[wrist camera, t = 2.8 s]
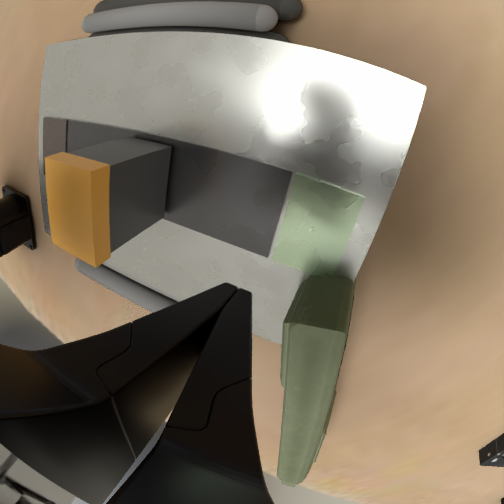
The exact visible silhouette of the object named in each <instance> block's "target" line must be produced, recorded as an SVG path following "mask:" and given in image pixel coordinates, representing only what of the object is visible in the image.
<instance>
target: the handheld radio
mask: <svg viewBox="0 0 504 504" xmlns="http://www.w3.org/2000/svg"><path fill="white" fill-rule="evenodd" d="M355 281H356V278H355V280H354V282H352V280H350V279H349V278H348V277H345V276H337V275H334V276H333V278H332V277H324V276H313V275H311V276H309V277H308V278H307V281H305V282H302V283H301V285H300V286H299V287H298V290H297V292H296V294H295V296H294V299H293V301H292V303H291V305H290V308H289V310H288V312H287V314H286V317H285V319H284V321H283V327H282V352H281V374H280V378H281V384H282V386H283V387H284V388H285V389H284V403H283V415H282V427H281V438H280V448H279V458H278V468H277V477H278V478H279V479H280V480H281V482H282V484H284V485H287V486H291V487H295V486H296V485H297V484H299V483H301V482H303V480H304V479H305V478H306V476H307V474H308V473H309V470H310V468H311V466H312V463H314V462H316V458H317V456H318V453H319V451H320V448H321V445H322V442H323V440H324V437H325V435H326V430H327V427H328V423H329V419H330V415H331V411H332V407H333V403H334V399H335V395H336V391H335V386H336V382H337V379H338V375H339V371H340V366H341V364H342V359H343V354H344V350H345V347H346V342H347V336H348V329H349V325H350V319H351V311H352V306H353V299H354V289H355Z"/></svg>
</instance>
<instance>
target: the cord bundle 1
mask: <svg viewBox="0 0 504 504" xmlns="http://www.w3.org/2000/svg"><path fill="white" fill-rule="evenodd" d="M301 11H302V3H301V1H300V0H103V1H101V2H99V3H98V4H97V5H96V6H95V8H94V13H92V14H89V15H88V16H86V17H85V18H84V19H83V21H82V29H83V30H84V31H85V32H87V33H92V34H91V35H90V36H89V37H96V36H104V35H113V34H124V33H138V32H166V31H179V32H208V33H222V34H233V35H242V36H250V37H258V38H264V39H271V40H277V41H282V42H288V43H290V41H289V40H288V39H287V37H285V36H284V35H282V34H279V33H273V32H267V31H269V30H271V29H272V28H274V27H275V25H276V24H277V21H278V20H292V19H295V18H296V17H298V16H299V15H300V13H301Z"/></svg>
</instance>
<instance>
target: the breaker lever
mask: <svg viewBox="0 0 504 504" xmlns="http://www.w3.org/2000/svg"><path fill="white" fill-rule="evenodd" d="M171 149H172V146H168V145H164V144H160V143H155V142H151V141H146V140H142V139H137V138H132V137H123V138H119V139H115V140H111V141H107V142H104V143H100V144H96V145H93V146H89V147H86V148H82V149H79V150H75V151H72V152H69V153H65V152H60V153H57V154H54V155H51V156H48V157H45V174H46V191H47V203H48V213H49V222H50V229H51V237H52V243H54V244H55V245H57V246H59V247H60V248H62V249H64V250H65V251H67V252H69V253H70V254H72V255H74V256H76V257H77V258H79V259H81V260H83V261H84V262H86V263H88V264H90V265H92V266H93V267H95V268H97V267H98V266H99V265H101V264H102V263H104V262H105V261H106V260H108V259H109V258H110V257H111V253H112V252H113V251H115V250H116V249H118V248H119V247H121V246H122V245H124V244H125V243H126V242H128V241H129V240H131V239H132V238H134V237H135V236H137V235H138V234H140V233H141V232H143V231H144V230H146V229H147V228H149V227H150V226H152V225H153V224H155V223H156V222H158V221H159V220H161V219H163V218H164V214H165V202H166V192H167V182H168V173H169V165H170V157H171Z"/></svg>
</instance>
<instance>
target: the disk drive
mask: <svg viewBox="0 0 504 504" xmlns="http://www.w3.org/2000/svg"><path fill="white" fill-rule="evenodd" d="M479 459H480V465H481V466H497V467H504V433H503V434H502V435H501V436H499V437H498V438H497V439H495V440H493V441H492V442H490V443H489V444H488V445H486V446H485V447H483V448H482V449H480V450H479Z"/></svg>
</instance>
